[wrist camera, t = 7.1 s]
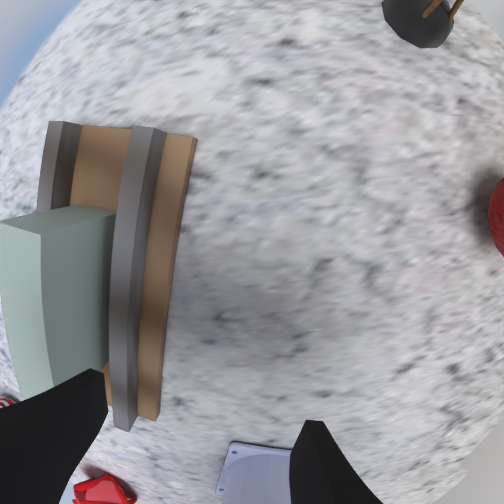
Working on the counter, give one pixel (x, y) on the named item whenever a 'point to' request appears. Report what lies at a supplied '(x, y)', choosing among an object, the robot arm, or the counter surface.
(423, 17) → the wooden tabletop sculpture
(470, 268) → the counter surface
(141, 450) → the counter surface
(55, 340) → the door panel
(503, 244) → the onion
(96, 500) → the red toy stool
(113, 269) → the track board
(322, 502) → the robot arm
